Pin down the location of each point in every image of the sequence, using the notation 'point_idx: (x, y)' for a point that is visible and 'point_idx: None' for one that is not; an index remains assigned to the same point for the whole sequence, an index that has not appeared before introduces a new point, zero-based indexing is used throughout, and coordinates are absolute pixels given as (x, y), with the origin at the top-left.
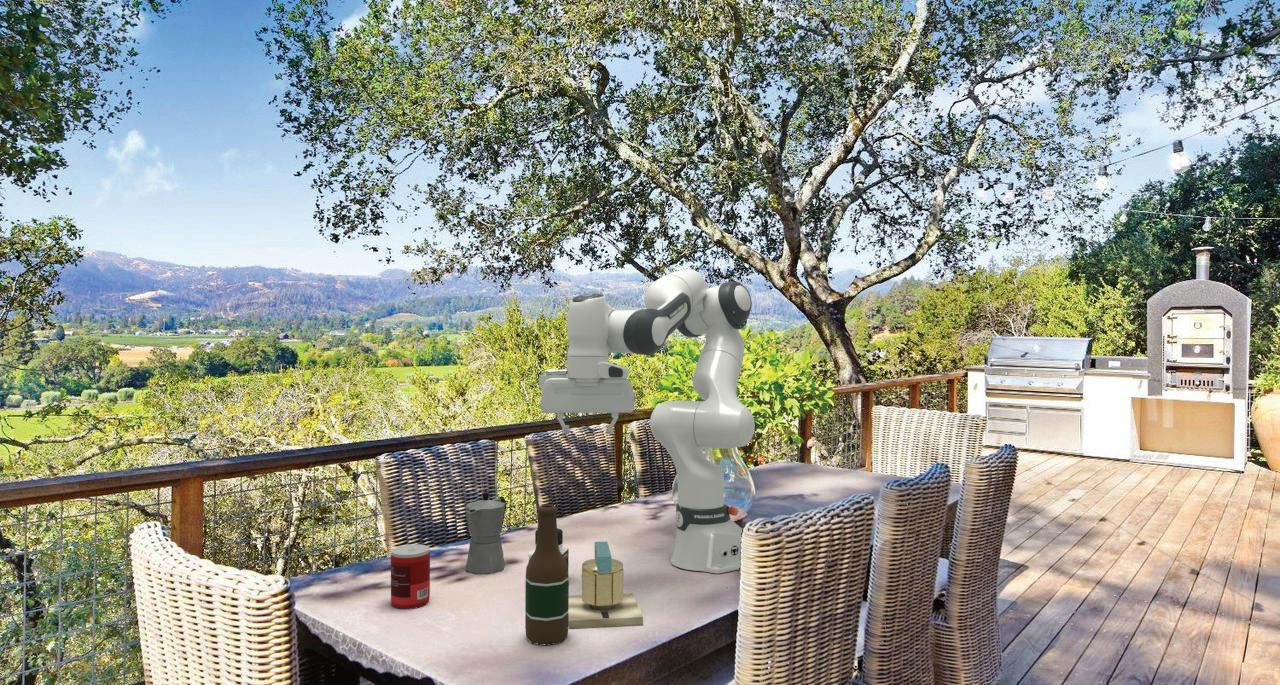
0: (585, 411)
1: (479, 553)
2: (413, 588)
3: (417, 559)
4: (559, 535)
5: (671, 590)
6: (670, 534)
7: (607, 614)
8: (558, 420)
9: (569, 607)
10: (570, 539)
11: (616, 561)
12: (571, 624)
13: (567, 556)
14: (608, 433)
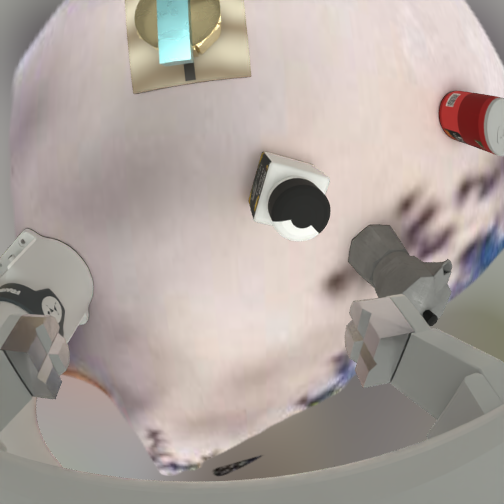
0: (217, 495)
1: (396, 241)
2: (467, 93)
3: (491, 98)
4: (277, 195)
5: (78, 147)
6: (120, 387)
7: None
8: (482, 351)
9: (241, 23)
10: (251, 373)
11: (146, 31)
12: None
13: (254, 207)
14: (40, 315)
